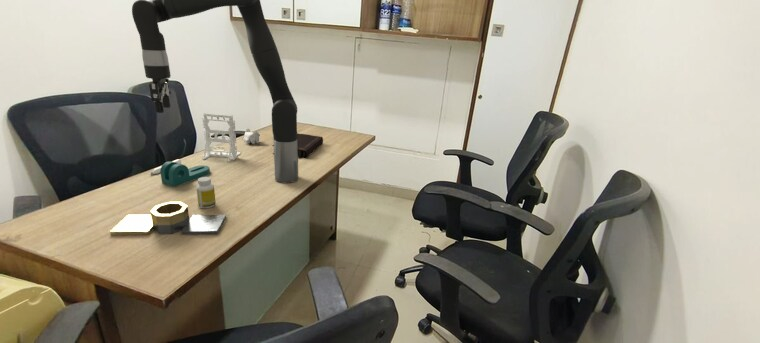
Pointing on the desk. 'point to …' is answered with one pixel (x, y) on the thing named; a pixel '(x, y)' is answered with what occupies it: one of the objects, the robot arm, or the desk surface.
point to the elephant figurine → (251, 137)
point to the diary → (307, 144)
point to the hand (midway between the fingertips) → (163, 109)
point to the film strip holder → (232, 140)
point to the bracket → (181, 173)
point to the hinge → (169, 222)
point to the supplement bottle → (205, 193)
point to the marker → (157, 170)
